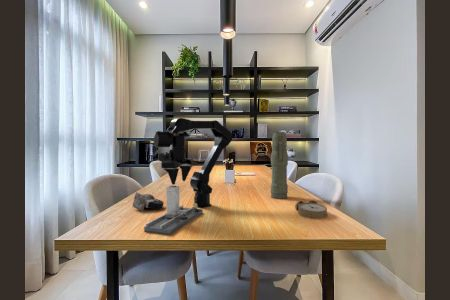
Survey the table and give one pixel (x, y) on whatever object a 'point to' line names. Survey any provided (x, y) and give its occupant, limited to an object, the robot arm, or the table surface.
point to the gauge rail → (172, 221)
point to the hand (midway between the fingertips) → (178, 182)
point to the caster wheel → (146, 202)
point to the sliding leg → (173, 202)
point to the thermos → (279, 166)
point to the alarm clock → (311, 209)
